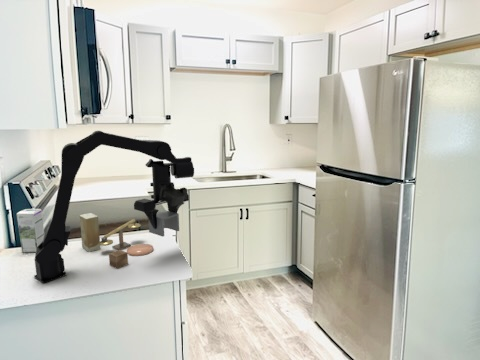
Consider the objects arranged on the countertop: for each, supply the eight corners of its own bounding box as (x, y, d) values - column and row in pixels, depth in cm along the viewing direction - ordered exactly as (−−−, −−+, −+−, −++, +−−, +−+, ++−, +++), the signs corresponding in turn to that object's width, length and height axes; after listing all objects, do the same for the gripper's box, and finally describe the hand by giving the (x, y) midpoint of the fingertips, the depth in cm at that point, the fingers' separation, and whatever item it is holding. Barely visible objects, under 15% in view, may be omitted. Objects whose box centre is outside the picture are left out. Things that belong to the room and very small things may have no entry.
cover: (162, 236, 110) (162, 218, 109) (149, 232, 115) (148, 214, 113) (179, 230, 116) (178, 213, 115) (165, 226, 120) (164, 210, 119)
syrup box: (46, 246, 125) (42, 207, 122) (38, 253, 119) (32, 212, 117) (30, 246, 125) (25, 208, 122) (21, 253, 119) (15, 212, 116)
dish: (137, 258, 114) (137, 255, 114) (121, 251, 120) (121, 249, 120) (158, 249, 121) (158, 247, 121) (142, 244, 127) (142, 241, 127)
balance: (104, 256, 116) (102, 230, 115) (97, 252, 119) (95, 227, 117) (144, 242, 129) (142, 218, 127) (136, 239, 131) (135, 216, 130)
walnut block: (117, 268, 107) (116, 256, 106) (109, 265, 109) (108, 253, 109) (128, 264, 110) (127, 252, 109) (120, 261, 112) (119, 249, 112)
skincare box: (81, 247, 124) (78, 214, 122) (93, 244, 127) (91, 212, 125) (88, 252, 119) (85, 218, 117) (101, 249, 122) (98, 215, 120)
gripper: (154, 187, 100) (157, 238, 103) (199, 178, 114) (201, 223, 117) (131, 183, 107) (134, 231, 109) (176, 174, 121) (178, 217, 124)
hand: (163, 225), depth 115 cm, fingers closed on cover, 7 cm apart
